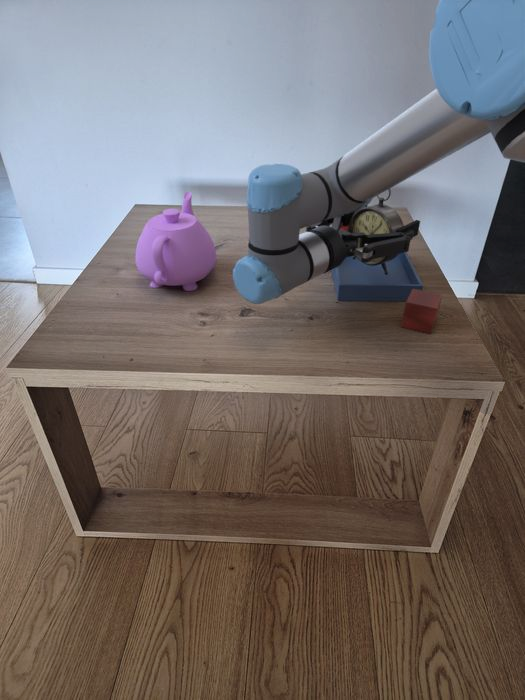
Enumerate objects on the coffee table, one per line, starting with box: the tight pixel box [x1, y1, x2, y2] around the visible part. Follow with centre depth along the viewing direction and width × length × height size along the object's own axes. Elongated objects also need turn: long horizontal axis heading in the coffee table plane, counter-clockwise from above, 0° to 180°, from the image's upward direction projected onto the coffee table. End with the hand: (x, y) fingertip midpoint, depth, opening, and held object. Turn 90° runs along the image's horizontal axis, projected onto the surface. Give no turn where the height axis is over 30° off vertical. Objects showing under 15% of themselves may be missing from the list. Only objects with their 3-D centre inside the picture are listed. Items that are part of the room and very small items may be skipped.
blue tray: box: [331, 252, 424, 302], centre depth 98 cm, size 19×15×3 cm
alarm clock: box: [348, 188, 405, 275], centre depth 93 cm, size 11×5×16 cm, turn 37°
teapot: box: [135, 191, 218, 292], centre depth 96 cm, size 22×16×14 cm
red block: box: [400, 289, 443, 335], centre depth 84 cm, size 5×5×5 cm
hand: (390, 218), depth 95 cm, fingers closed on alarm clock, 11 cm apart
